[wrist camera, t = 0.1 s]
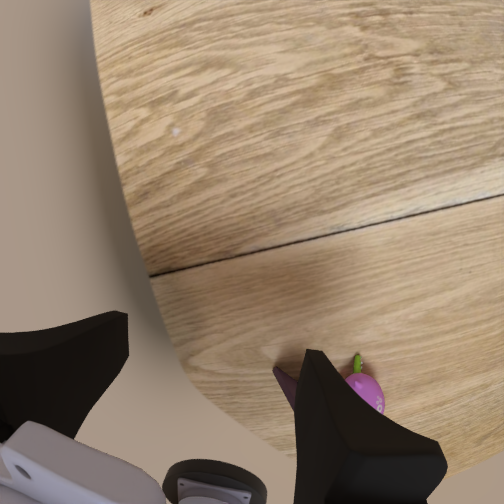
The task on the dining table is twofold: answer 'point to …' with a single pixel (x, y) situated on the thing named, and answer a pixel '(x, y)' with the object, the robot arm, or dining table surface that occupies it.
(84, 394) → the robot arm
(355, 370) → the game card
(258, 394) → the dining table surface
